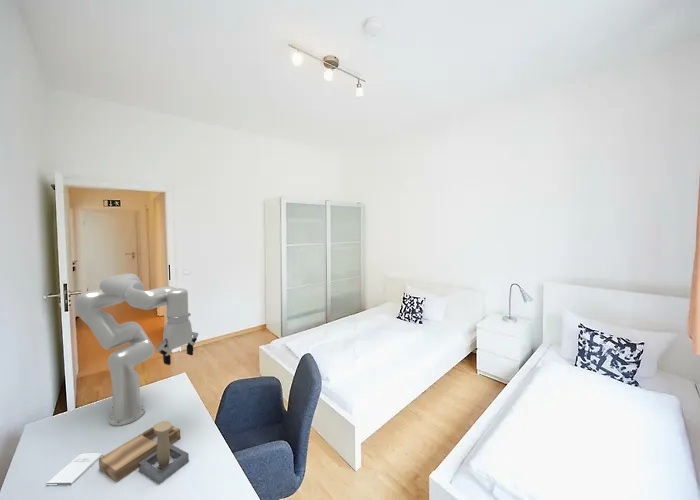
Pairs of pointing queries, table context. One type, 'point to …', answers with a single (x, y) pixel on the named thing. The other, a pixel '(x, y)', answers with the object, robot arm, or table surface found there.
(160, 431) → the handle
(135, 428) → the table surface
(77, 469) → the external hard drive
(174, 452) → the collar
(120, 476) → the wooden box
